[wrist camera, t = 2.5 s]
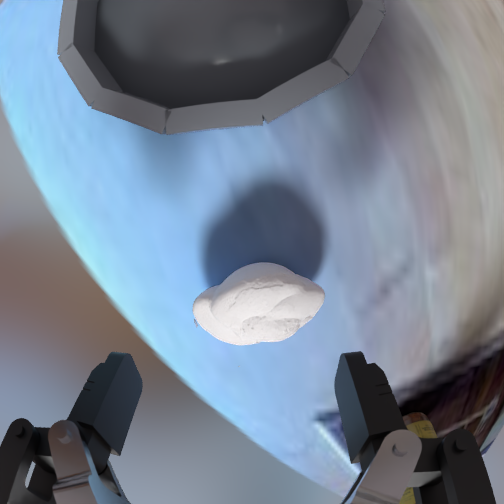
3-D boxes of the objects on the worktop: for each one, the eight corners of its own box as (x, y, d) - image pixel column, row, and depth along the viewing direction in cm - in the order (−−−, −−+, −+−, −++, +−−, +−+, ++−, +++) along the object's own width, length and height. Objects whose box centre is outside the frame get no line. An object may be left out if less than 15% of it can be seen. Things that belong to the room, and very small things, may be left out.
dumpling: (292, 221, 14) (302, 255, 10) (329, 297, 16) (345, 342, 12) (180, 277, 16) (159, 319, 12) (227, 339, 18) (220, 386, 14)
